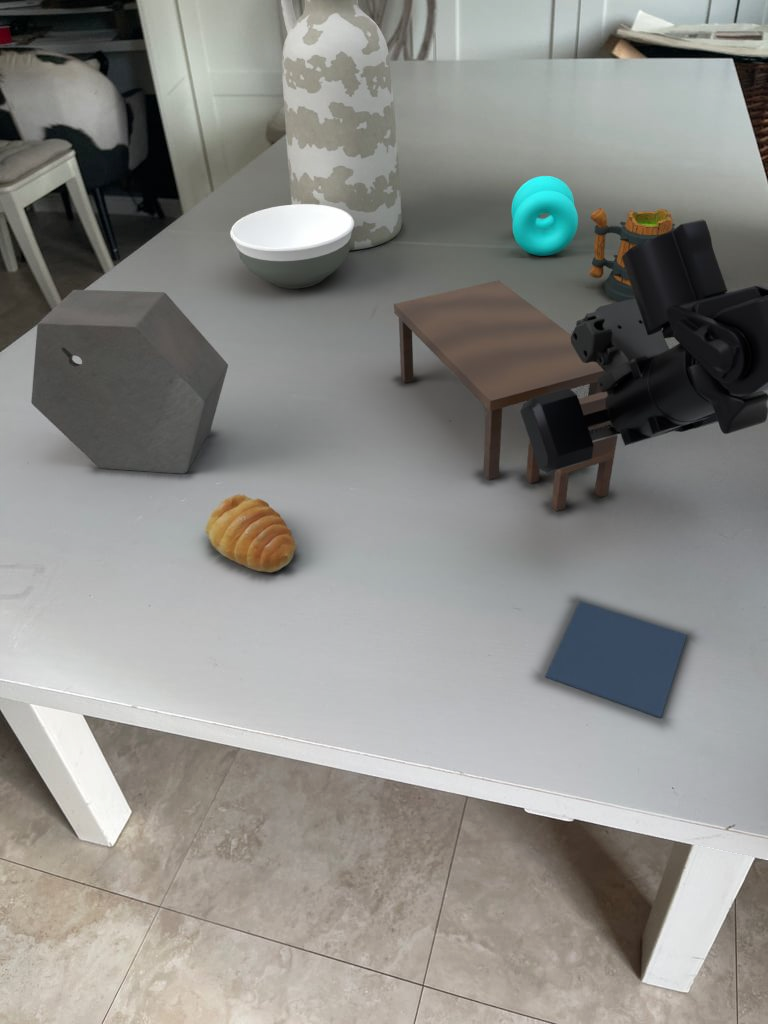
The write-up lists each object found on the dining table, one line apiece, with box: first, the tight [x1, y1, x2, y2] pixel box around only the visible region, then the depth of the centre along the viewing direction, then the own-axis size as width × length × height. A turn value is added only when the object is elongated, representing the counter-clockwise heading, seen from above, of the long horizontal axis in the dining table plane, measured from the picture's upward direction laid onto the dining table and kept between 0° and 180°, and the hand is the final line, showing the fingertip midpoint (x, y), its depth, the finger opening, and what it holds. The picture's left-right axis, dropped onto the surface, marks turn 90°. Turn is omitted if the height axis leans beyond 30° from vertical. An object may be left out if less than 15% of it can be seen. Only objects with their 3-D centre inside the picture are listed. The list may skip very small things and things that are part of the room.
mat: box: [545, 601, 688, 719], centre depth 65 cm, size 9×9×1 cm
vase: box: [280, 0, 403, 251], centre depth 129 cm, size 20×19×38 cm
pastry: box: [205, 494, 298, 573], centre depth 76 cm, size 9×7×4 cm
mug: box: [588, 207, 676, 302], centre depth 113 cm, size 13×10×12 cm
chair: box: [525, 392, 619, 512], centre depth 79 cm, size 6×6×12 cm
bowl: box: [229, 204, 354, 290], centre depth 124 cm, size 19×19×8 cm
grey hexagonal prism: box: [30, 289, 229, 475], centre depth 86 cm, size 17×8×21 cm
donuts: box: [511, 175, 579, 257], centre depth 128 cm, size 10×10×10 cm
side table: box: [393, 279, 606, 481], centre depth 91 cm, size 24×14×10 cm, turn 22°
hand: (584, 432), depth 76 cm, fingers open, 9 cm apart
